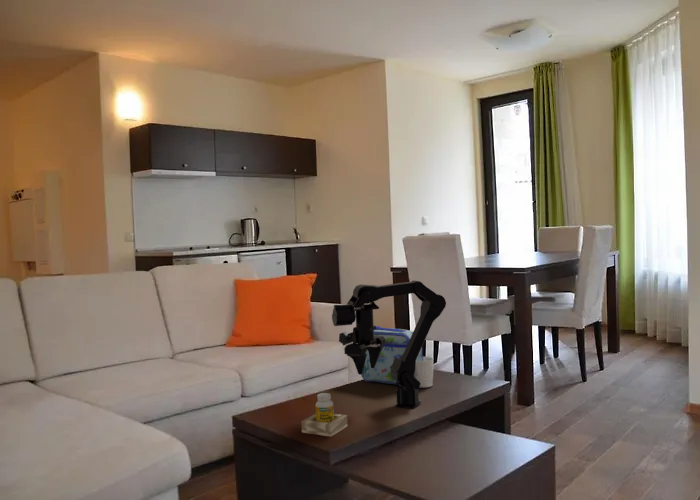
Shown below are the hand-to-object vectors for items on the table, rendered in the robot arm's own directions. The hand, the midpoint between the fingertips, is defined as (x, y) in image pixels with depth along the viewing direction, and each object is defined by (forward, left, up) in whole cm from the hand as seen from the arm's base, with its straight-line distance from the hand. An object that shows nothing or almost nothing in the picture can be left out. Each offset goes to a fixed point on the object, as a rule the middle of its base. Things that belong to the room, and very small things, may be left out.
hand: (366, 371), depth 198 cm
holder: (+4, +21, -13) cm, 25 cm away
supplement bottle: (+4, +21, -12) cm, 25 cm away
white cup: (-6, -35, -13) cm, 37 cm away
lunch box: (+8, -36, -13) cm, 39 cm away
